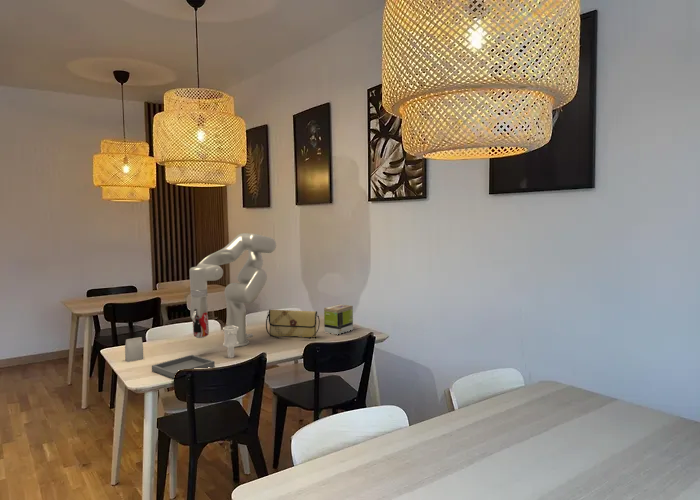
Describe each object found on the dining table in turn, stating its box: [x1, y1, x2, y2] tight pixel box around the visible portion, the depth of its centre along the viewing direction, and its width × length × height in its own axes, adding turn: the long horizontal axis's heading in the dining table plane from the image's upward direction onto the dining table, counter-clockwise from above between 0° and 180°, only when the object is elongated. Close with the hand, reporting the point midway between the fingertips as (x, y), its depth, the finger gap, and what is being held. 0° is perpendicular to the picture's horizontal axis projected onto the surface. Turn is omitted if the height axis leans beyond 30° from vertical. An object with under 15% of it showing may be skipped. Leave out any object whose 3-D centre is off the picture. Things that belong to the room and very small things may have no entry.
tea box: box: [323, 303, 354, 336], centre depth 268 cm, size 15×10×15 cm, turn 144°
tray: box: [151, 354, 215, 380], centre depth 201 cm, size 20×16×2 cm
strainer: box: [222, 325, 239, 359], centre depth 219 cm, size 7×7×15 cm
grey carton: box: [124, 336, 144, 363], centre depth 213 cm, size 4×7×10 cm, turn 131°
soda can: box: [192, 312, 210, 339], centre depth 220 cm, size 7×7×12 cm
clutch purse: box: [265, 309, 321, 340], centre depth 253 cm, size 30×7×15 cm, turn 82°
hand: (200, 329), depth 220 cm, fingers closed on soda can, 6 cm apart
